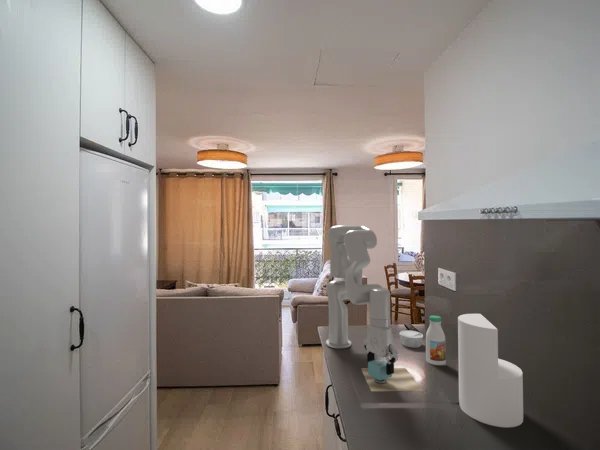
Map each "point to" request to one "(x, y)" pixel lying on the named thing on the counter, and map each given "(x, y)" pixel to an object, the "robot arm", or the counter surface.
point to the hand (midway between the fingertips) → (380, 368)
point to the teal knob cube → (378, 369)
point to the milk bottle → (435, 342)
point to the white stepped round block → (487, 375)
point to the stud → (380, 381)
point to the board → (393, 381)
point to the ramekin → (411, 338)
